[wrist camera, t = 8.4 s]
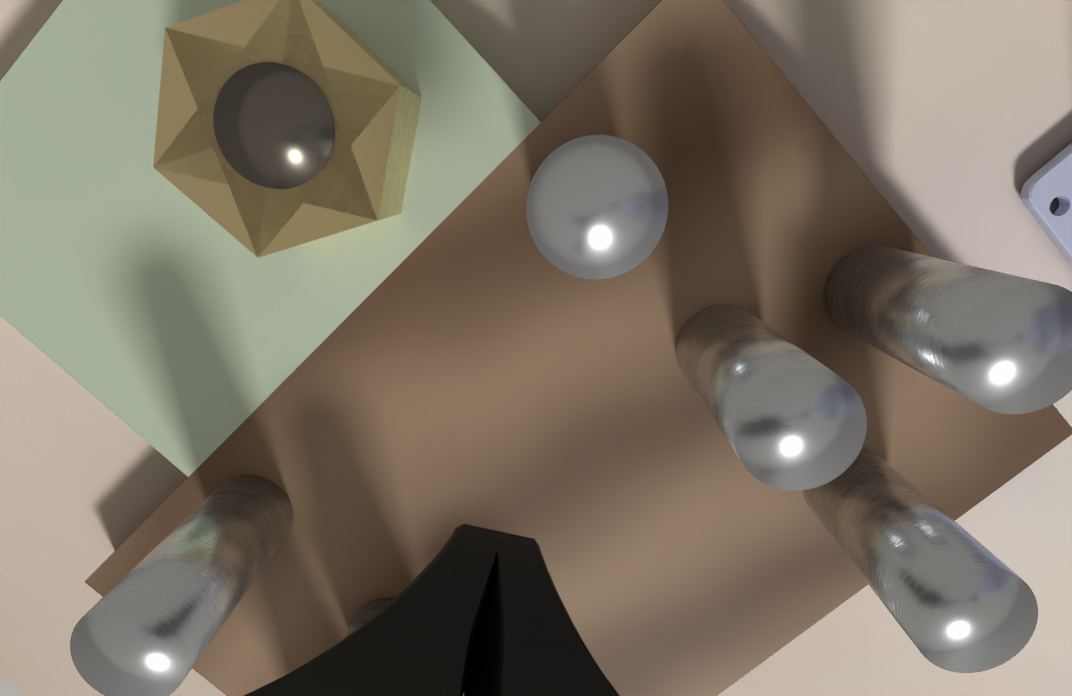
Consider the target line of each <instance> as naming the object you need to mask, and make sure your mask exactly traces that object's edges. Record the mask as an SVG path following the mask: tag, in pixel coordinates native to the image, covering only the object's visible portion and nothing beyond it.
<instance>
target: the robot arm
mask: <svg viewBox="0 0 1072 696" xmlns="http://www.w3.org/2000/svg"><path fill="white" fill-rule="evenodd" d="M1056 197H1057V198H1058V200H1059V207H1058V209H1057V210H1056V212H1055V213H1053V214H1052V213H1051V212H1050V209H1049V208H1050V203H1051V202H1052V201H1053V199H1054V198H1056ZM1021 199H1022V201H1023V204H1024V205H1025V207H1026V208H1027V209H1028V211H1029V212H1030V213H1031V214H1032V216H1033V217H1034V218H1035V220H1036V221H1037V222H1038V223H1039V225H1040V226H1041V227H1042V229H1043V230H1044V231H1045V233H1046V234H1047V235H1048V236H1049V238H1050V239H1051V240H1052V242H1053V243H1054V244H1055V246H1056V247H1057V248H1058V249H1059V251H1060V252H1061V253H1062V255H1063V256H1064V257H1065V259H1066V260H1067V261H1068V262H1069V264H1070V265H1071V266H1072V143H1071V144H1069V145H1068V146H1067V147H1066V148H1065V149H1063V150H1062V151H1061V152H1060V153H1059V154H1057V155H1056V156H1055V157H1054V158H1053V159H1051V160H1050V161H1049V162H1048V163H1047V164H1045V165H1044V166H1043V167H1042V168H1041V169H1039V170H1038V171H1037V172H1036V173H1035V174H1033V175H1032V176H1031V177H1030V178H1029V179H1028V180H1027V181H1026V182H1025V183H1024V185H1023V188H1022V190H1021ZM463 694H464V696H620V695H619V694H618V693H617V691H616V690H615V689H614V687H613V686H612V685H611V683H610V682H609V680H608V679H607V678H606V676H605V675H604V674H603V672H602V671H601V669H600V668H599V666H598V664H597V663H596V661H595V660H594V658H593V657H592V655H591V653H590V652H589V650H588V648H587V647H586V645H585V643H584V642H583V640H582V638H581V636H580V635H579V633H578V631H577V629H576V627H575V626H574V624H573V622H572V620H571V618H570V616H569V614H568V612H567V610H566V608H565V606H564V604H563V602H562V600H561V598H560V596H559V594H558V592H557V590H556V587H555V585H554V583H553V581H552V578H551V576H550V574H549V571H548V569H547V566H546V564H545V561H544V558H543V556H542V553H541V550H540V547H539V545H538V543H537V542H536V540H535V539H534V538H529V537H524V536H519V535H515V534H510V533H505V532H501V531H496V530H491V529H487V528H482V527H477V526H473V525H468V524H462V525H460V526H459V527H457V528H455V530H454V532H453V534H452V536H451V537H450V539H449V540H448V542H447V543H446V544H445V546H444V547H443V548H442V550H441V551H440V552H439V553H438V554H437V556H436V557H435V558H434V559H433V560H432V561H431V563H430V564H429V565H428V566H427V567H426V568H425V569H424V570H423V571H422V572H421V573H420V574H419V575H418V576H417V577H416V578H415V579H414V581H413V582H412V583H411V584H410V585H409V586H407V587H406V588H405V589H404V590H403V591H402V592H401V593H400V594H399V595H398V596H396V597H395V598H394V599H393V600H392V601H391V602H390V603H389V604H388V605H386V606H385V607H384V608H383V609H382V610H381V611H380V612H378V613H377V614H376V615H375V616H374V617H372V618H371V619H370V620H369V621H367V622H366V623H365V624H363V625H362V626H361V627H360V628H358V629H357V630H355V631H354V632H353V633H351V634H350V635H348V636H347V637H346V638H344V639H343V640H342V641H340V642H339V643H337V644H336V645H334V646H333V647H331V648H329V649H328V650H326V651H325V652H323V653H321V654H320V655H318V656H317V657H315V658H314V659H312V660H310V661H309V662H307V663H306V664H304V665H302V666H300V667H299V668H297V669H295V670H294V671H292V672H290V673H288V674H286V675H285V676H283V677H281V678H279V679H277V680H275V681H273V682H271V683H269V684H267V685H265V686H263V687H261V688H258V689H256V690H254V691H252V692H250V693H248V694H246V695H244V696H463Z"/></svg>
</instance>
